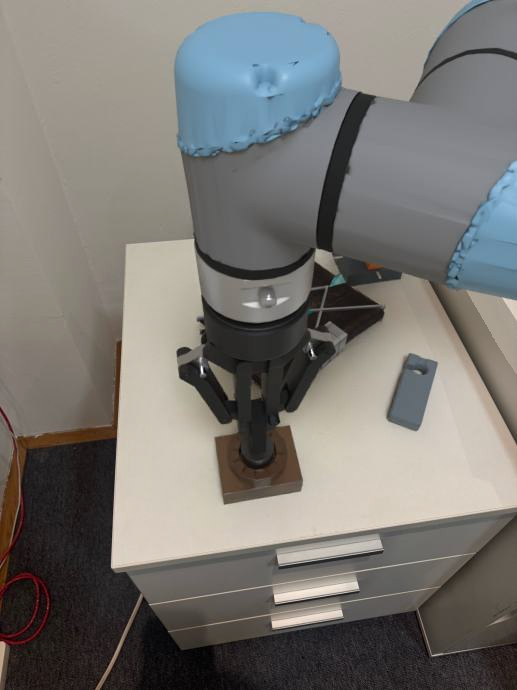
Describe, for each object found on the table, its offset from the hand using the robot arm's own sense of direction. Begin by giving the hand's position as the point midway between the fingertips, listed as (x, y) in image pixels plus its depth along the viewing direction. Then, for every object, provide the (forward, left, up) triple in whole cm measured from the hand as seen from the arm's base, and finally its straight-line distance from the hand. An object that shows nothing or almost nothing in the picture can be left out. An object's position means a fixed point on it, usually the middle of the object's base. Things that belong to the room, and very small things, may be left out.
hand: (256, 441), depth 52 cm
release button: (0, 0, -3) cm, 3 cm away
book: (+8, -21, -8) cm, 23 cm away
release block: (0, 0, -8) cm, 8 cm away
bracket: (-11, -20, -8) cm, 24 cm away
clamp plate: (+5, -39, -8) cm, 40 cm away
